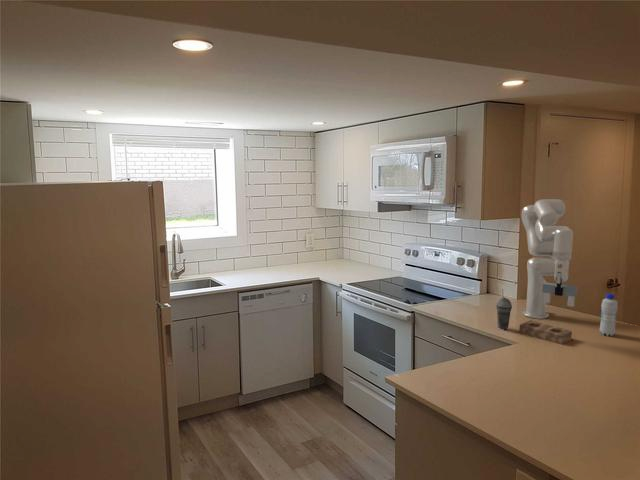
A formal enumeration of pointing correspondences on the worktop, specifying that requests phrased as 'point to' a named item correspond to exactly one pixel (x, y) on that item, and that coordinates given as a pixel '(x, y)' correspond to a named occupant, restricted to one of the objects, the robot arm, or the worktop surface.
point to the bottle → (608, 315)
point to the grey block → (567, 290)
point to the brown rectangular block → (545, 332)
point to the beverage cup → (503, 312)
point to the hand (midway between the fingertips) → (559, 294)
